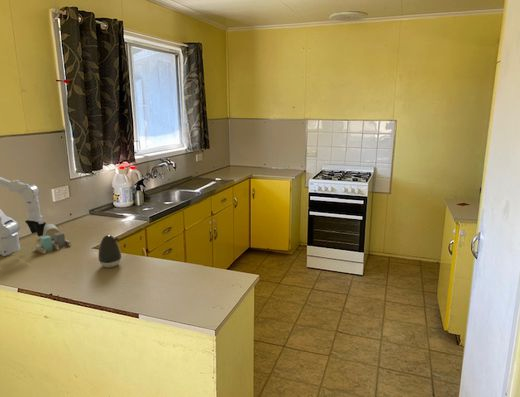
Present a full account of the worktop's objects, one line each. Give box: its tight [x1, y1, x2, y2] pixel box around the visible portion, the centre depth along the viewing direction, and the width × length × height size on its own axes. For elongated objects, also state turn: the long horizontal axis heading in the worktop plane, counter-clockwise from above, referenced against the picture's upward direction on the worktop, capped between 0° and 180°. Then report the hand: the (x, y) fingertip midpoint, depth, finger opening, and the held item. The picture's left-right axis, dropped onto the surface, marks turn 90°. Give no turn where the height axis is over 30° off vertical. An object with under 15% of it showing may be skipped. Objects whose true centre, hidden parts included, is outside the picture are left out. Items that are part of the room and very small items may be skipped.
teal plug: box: [39, 235, 53, 251], centre depth 202 cm, size 4×4×7 cm
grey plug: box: [53, 231, 66, 248], centre depth 207 cm, size 4×4×7 cm
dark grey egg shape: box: [98, 234, 122, 268], centre depth 184 cm, size 10×10×15 cm
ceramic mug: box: [43, 223, 66, 240], centre depth 223 cm, size 11×8×8 cm
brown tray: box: [35, 238, 72, 255], centre depth 206 cm, size 14×9×3 cm, turn 142°
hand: (37, 234), depth 201 cm, fingers open, 7 cm apart
